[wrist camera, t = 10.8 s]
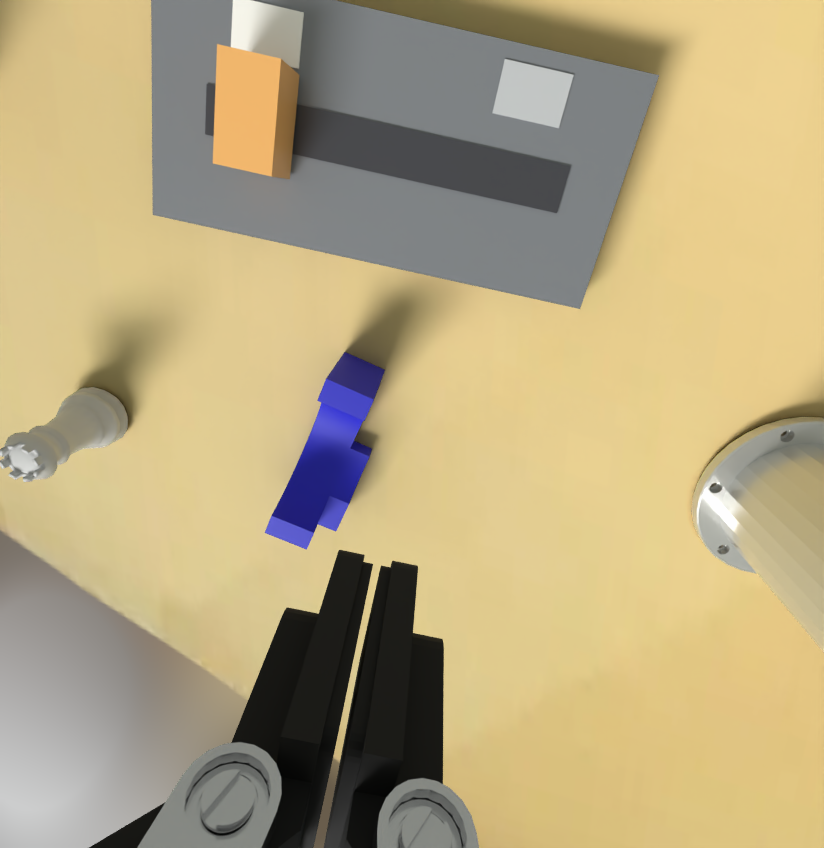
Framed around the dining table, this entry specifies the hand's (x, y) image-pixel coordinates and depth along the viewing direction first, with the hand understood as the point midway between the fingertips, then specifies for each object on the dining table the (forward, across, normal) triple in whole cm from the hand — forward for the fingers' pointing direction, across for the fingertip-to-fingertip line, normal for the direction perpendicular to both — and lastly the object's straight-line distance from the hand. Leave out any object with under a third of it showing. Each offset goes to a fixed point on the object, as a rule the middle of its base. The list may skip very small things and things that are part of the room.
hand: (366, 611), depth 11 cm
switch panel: (+25, +4, -10) cm, 27 cm away
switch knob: (+23, +11, -10) cm, 27 cm away
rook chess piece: (+25, +22, +11) cm, 35 cm away
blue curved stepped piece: (+26, +4, +9) cm, 27 cm away
